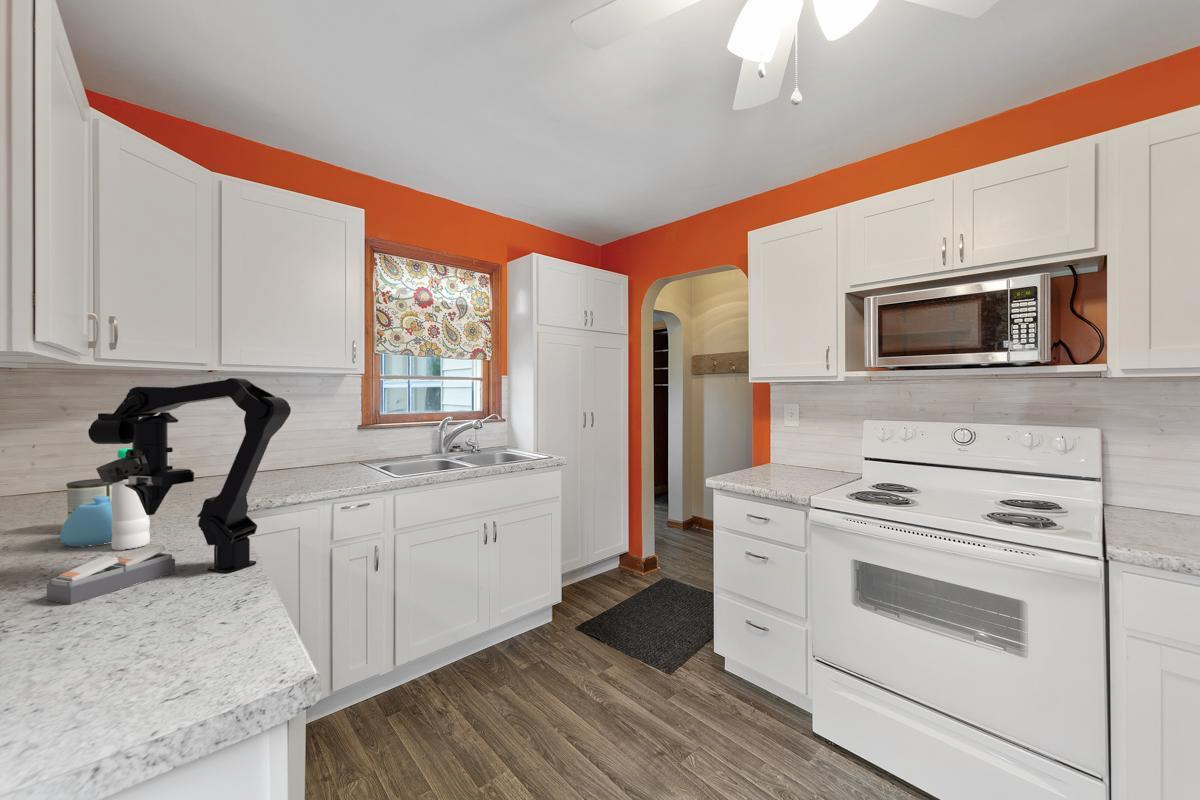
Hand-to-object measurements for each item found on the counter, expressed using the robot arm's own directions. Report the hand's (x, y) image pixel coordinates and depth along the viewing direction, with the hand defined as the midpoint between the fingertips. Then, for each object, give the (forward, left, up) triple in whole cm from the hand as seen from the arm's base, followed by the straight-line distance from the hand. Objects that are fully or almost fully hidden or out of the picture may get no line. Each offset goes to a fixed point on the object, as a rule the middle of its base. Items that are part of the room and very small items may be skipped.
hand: (150, 514), depth 108 cm
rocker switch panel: (-4, +8, -12) cm, 15 cm away
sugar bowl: (+39, -12, -12) cm, 43 cm away
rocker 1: (-4, +13, -7) cm, 15 cm away
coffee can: (+54, -18, -12) cm, 58 cm away
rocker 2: (-4, +4, -7) cm, 9 cm away
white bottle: (+24, -10, -12) cm, 29 cm away
